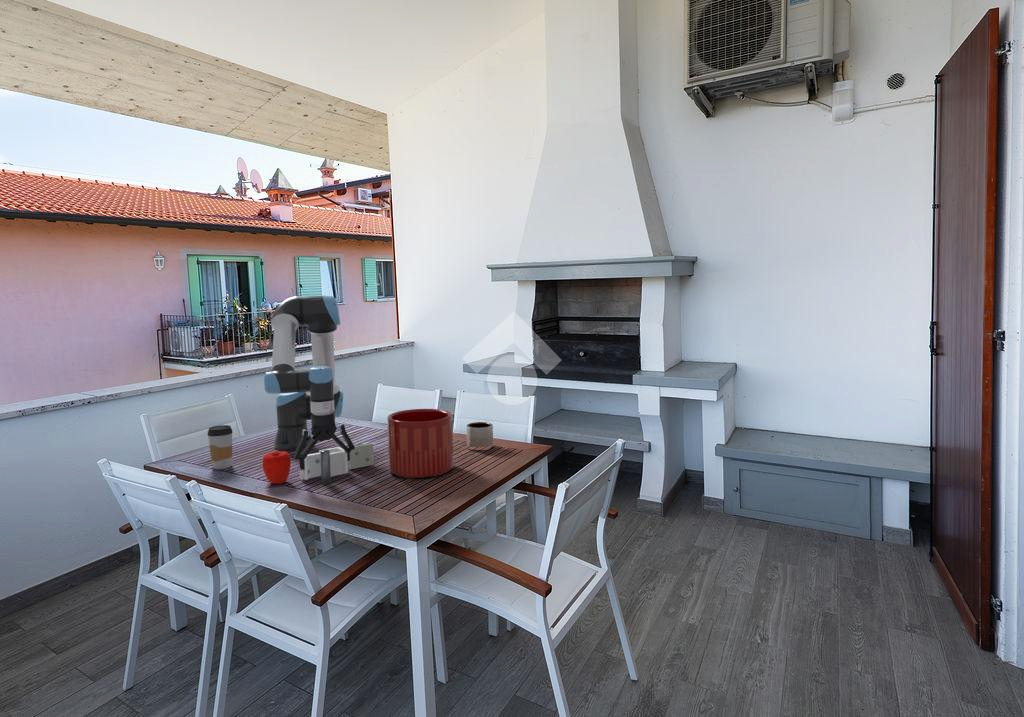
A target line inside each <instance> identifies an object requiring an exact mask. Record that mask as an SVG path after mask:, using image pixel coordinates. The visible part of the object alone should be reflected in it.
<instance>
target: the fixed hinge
mask: <svg viewBox="0 0 1024 717" xmlns="http://www.w3.org/2000/svg"><path fill="white" fill-rule="evenodd" d="M321 450H322V449H321ZM321 450H320V449H319V450H318V452H315V453H309V454H308V455H307V457H306V458H305V459H306V460H307V468H308V479H313V478H318V477H321V459H320V451H321ZM323 450H329V451H330V472H331V477H336V476H341V475H345V474H348V473H349V471H348V472H345V471H344V470H343V461H342V452H343V451H344V452H345V450H343V449H342V448H341V447H340V446H336V447H330V448H324V449H323ZM298 466H299V479H300V480H301V481H302V480H305V479H304V478H303V470H301V469H300V465H299V464H298Z"/></svg>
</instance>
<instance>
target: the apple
mask: <svg viewBox="0 0 1024 717" xmlns="http://www.w3.org/2000/svg"><path fill="white" fill-rule="evenodd" d="M291 461H292V460H291V455H290V453H289V452H287V451H283V450H280V451H279V450H278V451H272V452H269V453H266V454H265V455H264V456H263V458H262V470H263V473H264V475H265V477H266V479H267V481H268V482H269V483H270V484H274V485H275V484H277V485H278V484H283V483H285V482H287V480H288V479H289V477H290V476H289V475H290V471H291V463H292V462H291Z"/></svg>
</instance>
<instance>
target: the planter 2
mask: <svg viewBox="0 0 1024 717" xmlns="http://www.w3.org/2000/svg"><path fill="white" fill-rule="evenodd" d="M493 432H494V426H493V423H490V422H486V421H485V422H484V421H477V422H476V421H475V422H470V423H467V424H466V447H467V446H469V447H476V448H477V447H487V446H490V445H492V444H493V445H494V433H493Z"/></svg>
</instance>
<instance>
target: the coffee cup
mask: <svg viewBox="0 0 1024 717" xmlns="http://www.w3.org/2000/svg"><path fill="white" fill-rule="evenodd" d="M233 432H234V431H233V429H232V427H231V425H229V424H224V425H222V424H221V425H214V426H211V427H209V428H208V431H207V437H208V443H209V444H208V445H209V453H210V459H211V464H212V467H213V470H226V469H229V468H231V467H232V465H233Z"/></svg>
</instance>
